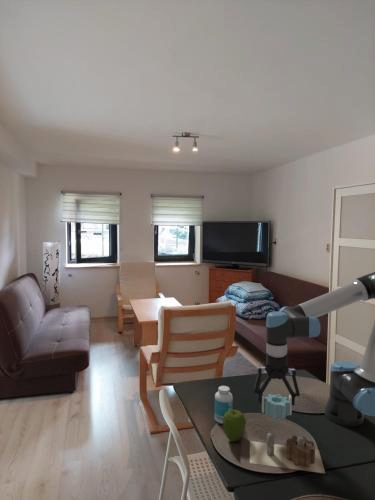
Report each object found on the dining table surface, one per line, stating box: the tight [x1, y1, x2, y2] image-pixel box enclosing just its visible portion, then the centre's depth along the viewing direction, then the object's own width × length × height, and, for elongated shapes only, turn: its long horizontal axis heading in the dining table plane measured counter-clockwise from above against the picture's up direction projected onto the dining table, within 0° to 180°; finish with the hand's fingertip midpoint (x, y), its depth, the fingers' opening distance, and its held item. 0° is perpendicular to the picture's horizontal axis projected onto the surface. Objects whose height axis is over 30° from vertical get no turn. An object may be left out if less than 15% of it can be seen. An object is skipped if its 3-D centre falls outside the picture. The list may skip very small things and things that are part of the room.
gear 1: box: [264, 393, 290, 420], centre depth 130 cm, size 9×9×5 cm
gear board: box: [249, 432, 326, 474], centre depth 119 cm, size 24×12×8 cm, turn 79°
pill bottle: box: [214, 385, 234, 425], centre depth 143 cm, size 8×7×14 cm
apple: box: [222, 409, 247, 443], centre depth 129 cm, size 9×8×12 cm
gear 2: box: [286, 435, 316, 467], centre depth 118 cm, size 9×9×5 cm
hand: (276, 411), depth 130 cm, fingers closed on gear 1, 9 cm apart
